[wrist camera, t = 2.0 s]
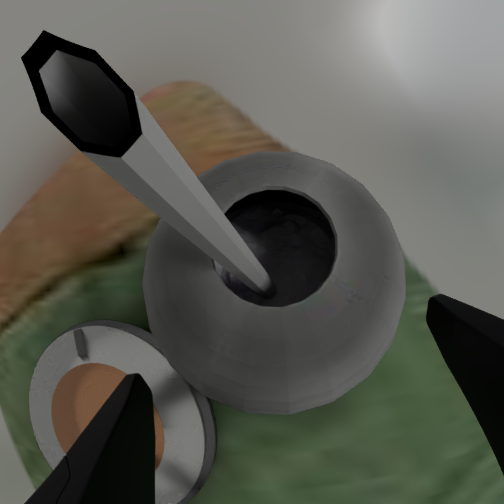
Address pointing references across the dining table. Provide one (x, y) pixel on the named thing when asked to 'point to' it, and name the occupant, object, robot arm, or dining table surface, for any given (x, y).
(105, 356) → the disc
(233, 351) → the beverage cup
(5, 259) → the dining table surface
